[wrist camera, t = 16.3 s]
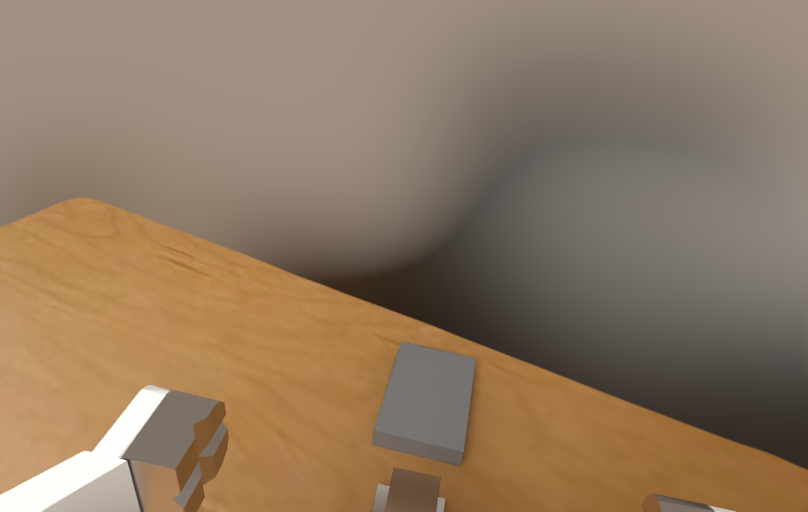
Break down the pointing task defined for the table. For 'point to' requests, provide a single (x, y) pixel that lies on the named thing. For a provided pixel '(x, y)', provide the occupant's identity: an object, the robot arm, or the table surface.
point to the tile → (427, 404)
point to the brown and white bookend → (409, 493)
